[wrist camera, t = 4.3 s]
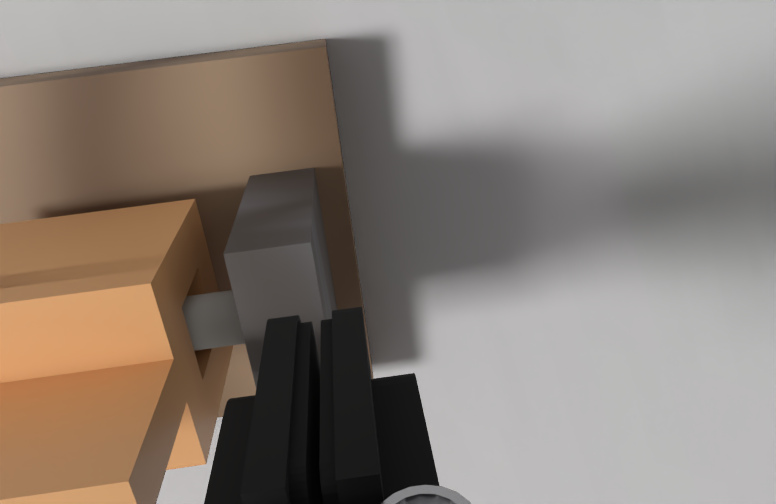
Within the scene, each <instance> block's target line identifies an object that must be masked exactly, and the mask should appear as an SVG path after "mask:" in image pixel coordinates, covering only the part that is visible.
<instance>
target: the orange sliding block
mask: <svg viewBox="0 0 776 504" xmlns="http://www.w3.org/2000/svg"><path fill="white" fill-rule="evenodd" d="M213 292H219V290H218V286H217V282H216V278H215V274H214V270H213V266H212V262H211V259H210V255H209V251H208V247H207V243H206V239H205V235H204V231H203V227H202V223H201V219H200V215H199V211H198V208H197V204H196V200H195V199H189V200H181V201H173V202H166V203H158V204H150V205H143V206H135V207H127V208H120V209H112V210H104V211H97V212H89V213H81V214H74V215H66V216H58V217H51V218H43V219H35V220H28V221H20V222H12V223H5V224H0V504H156V501H157V498H158V494H159V491H160V488H161V485H162V481H163V478H164V475H165V472H166V470H169V469H176V468H183V467H190V466H197V465H204V464H206V463H207V458H208V454H209V450H210V445H211V441H212V437H213V433H214V428H215V424H216V420H217V415H218V411H219V407H220V402H221V398H222V394H223V389H224V385H225V381H226V376H227V372H228V368H229V363H230V359H231V355H232V351H233V345H232V346H225V347H217V348H210V349H203V350H196V351H194V348H193V345H192V341H191V338H190V335H189V331H188V328H187V324H186V321H185V317H184V314H183V310H182V306H183V303H184V301H185V298H186V296H191V295H198V294H206V293H213Z"/></svg>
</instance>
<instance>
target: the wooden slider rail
mask: <svg viewBox="0 0 776 504" xmlns="http://www.w3.org/2000/svg"><path fill="white" fill-rule="evenodd" d="M189 199H195V200H196V204H197V208H198V211H199V215H200V219H201V223H202V227H203V231H204V235H205V239H206V243H207V247H208V251H209V255H210V259H211V262H212V266H213V270H214V274H215V278H216V282H217V286H218V290H219V292H213V293H206V294H198V295H191V296H186V298H185V301H184V303H183V306H182V310H183V314H184V317H185V321H186V324H187V328H188V331H189V335H190V338H191V341H192V345H193V348H194V351H196V350H203V349H210V348H217V347H225V346H232V345H233V351H232V355H231V359H230V363H229V368H228V372H227V376H226V381H225V385H224V389H223V394H222V398H221V402H220V407H219V411H218V415H217V417H223V415H224V410H225V406H226V403H227V401H228V400H229V399H231V398H238V397H245V396H252V395H255V394H256V388H257V381H258V375H259V368H260V362H261V356H262V349H263V343H264V336H265V330H266V323H267V320H268V319H272V318H280V317H287V316H295V315H299V317H300V320H301V323H304V322H312V324H313V329H314V334H315V340H316V345H317V351H318V357H319V362H320V345H321V320H326V319H332V311H333V310H340V309H348V308H355V307H362V310H363V317H364V324H365V331H366V339H367V346H368V353H369V361H370V368H371V376H372V379H373V371H372V363H371V356H370V349H369V342H368V335H367V328H366V321H365V314H364V307H363V300H362V292H361V285H360V278H359V271H358V264H357V257H356V250H355V243H354V236H353V229H352V222H351V215H350V208H349V201H348V194H347V187H346V180H345V173H344V165H343V158H342V151H341V144H340V137H339V130H338V123H337V116H336V109H335V102H334V95H333V88H332V81H331V74H330V67H329V60H328V53H327V46H326V39H320V40H312V41H304V42H296V43H287V44H279V45H271V46H263V47H254V48H246V49H238V50H230V51H222V52H213V53H205V54H197V55H189V56H181V57H172V58H164V59H156V60H148V61H140V62H131V63H123V64H115V65H107V66H99V67H90V68H82V69H74V70H66V71H58V72H49V73H41V74H33V75H25V76H17V77H8V78H0V224H5V223H12V222H20V221H28V220H35V219H43V218H51V217H58V216H66V215H74V214H81V213H89V212H97V211H104V210H112V209H120V208H127V207H135V206H143V205H150V204H158V203H166V202H173V201H181V200H189Z"/></svg>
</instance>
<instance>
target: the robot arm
mask: <svg viewBox="0 0 776 504" xmlns="http://www.w3.org/2000/svg"><path fill="white" fill-rule="evenodd" d="M204 504H471V503H470V501H468V500H467V499H466V498H464V497H463V496H462V495H460V494H459V493H458V492H456V491H453V490H450V489H448V488H445V487H442V486H439V482H438V477H437V473H436V468H435V464H434V459H433V454H432V450H431V445H430V441H429V436H428V431H427V427H426V422H425V417H424V413H423V408H422V404H421V399H420V394H419V390H418V385H417V381H416V376H415V374H414V373H413V374H405V375H398V376H391V377H383V378H376V379H372V376H371V368H370V361H369V353H368V346H367V339H366V331H365V324H364V317H363V310H362V307H355V308H348V309H340V310H333V311H332V319H326V320H321V345H320V362H319V357H318V351H317V345H316V340H315V334H314V329H313V324H312V322H304V323H301V320H300V317H299V315H295V316H287V317H280V318H272V319H268V320H267V323H266V330H265V336H264V343H263V349H262V356H261V362H260V368H259V375H258V381H257V388H256V394H255V395H252V396H245V397H238V398H231V399H229V400H228V401H227V403H226V406H225V410H224V415H223V419H222V424H221V429H220V433H219V438H218V442H217V447H216V452H215V456H214V461H213V465H212V470H211V475H210V479H209V484H208V488H207V493H206V498H205V502H204Z"/></svg>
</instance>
